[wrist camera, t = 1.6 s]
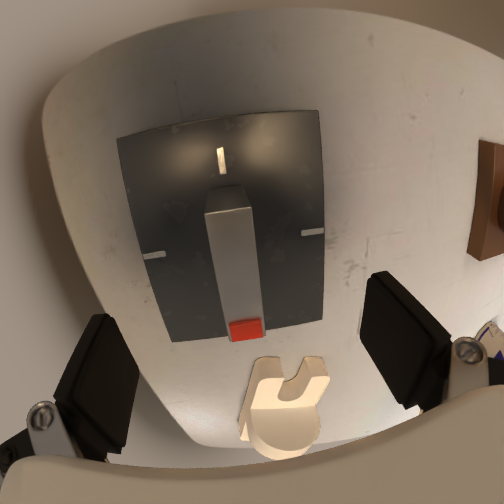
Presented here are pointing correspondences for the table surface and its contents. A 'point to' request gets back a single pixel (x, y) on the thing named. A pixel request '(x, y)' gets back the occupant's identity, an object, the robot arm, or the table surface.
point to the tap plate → (263, 210)
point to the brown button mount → (488, 204)
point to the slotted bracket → (283, 408)
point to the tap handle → (235, 261)
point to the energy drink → (492, 340)
